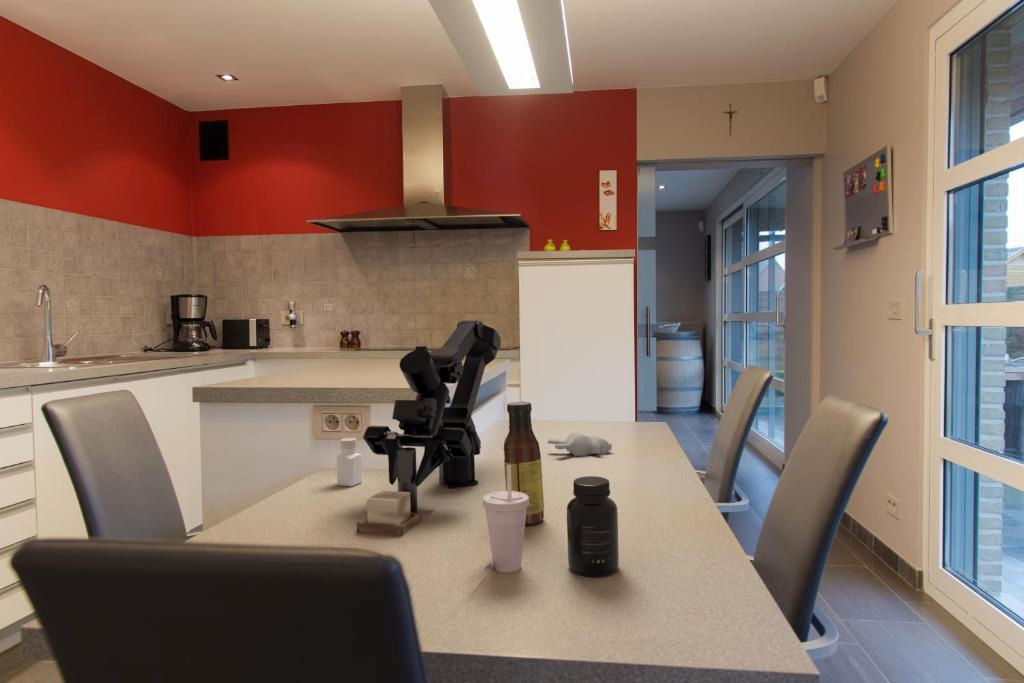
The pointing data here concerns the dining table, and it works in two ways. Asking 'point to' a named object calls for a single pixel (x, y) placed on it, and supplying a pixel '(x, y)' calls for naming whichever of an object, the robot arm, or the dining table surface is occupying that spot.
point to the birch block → (389, 508)
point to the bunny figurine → (582, 445)
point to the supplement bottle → (592, 528)
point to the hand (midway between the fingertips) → (403, 484)
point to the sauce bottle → (524, 460)
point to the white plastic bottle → (349, 463)
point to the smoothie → (506, 526)
